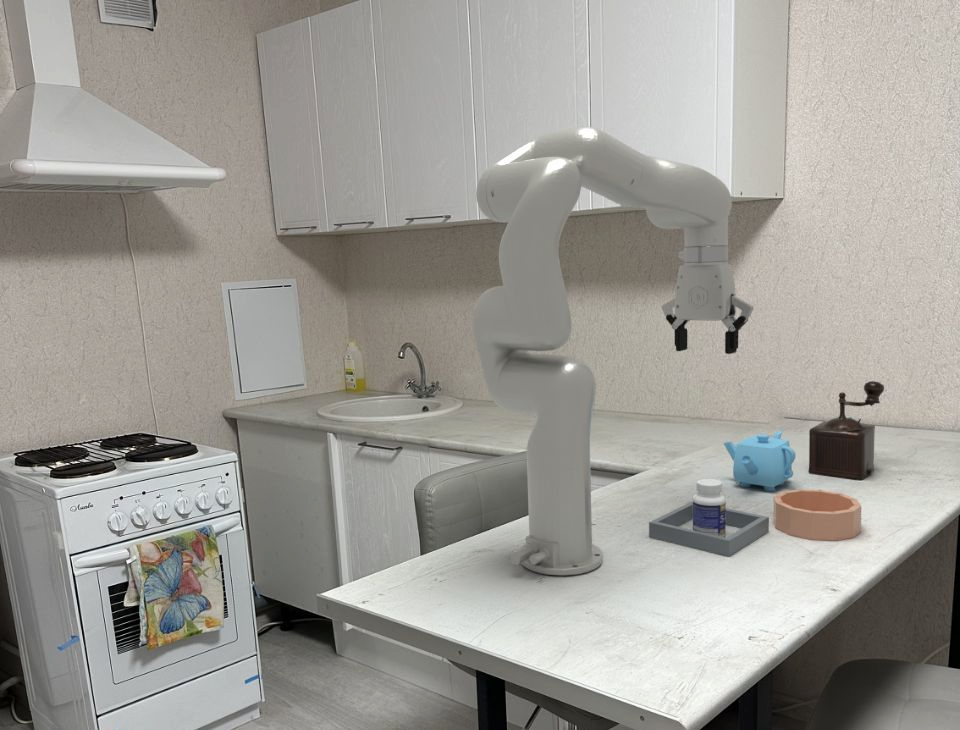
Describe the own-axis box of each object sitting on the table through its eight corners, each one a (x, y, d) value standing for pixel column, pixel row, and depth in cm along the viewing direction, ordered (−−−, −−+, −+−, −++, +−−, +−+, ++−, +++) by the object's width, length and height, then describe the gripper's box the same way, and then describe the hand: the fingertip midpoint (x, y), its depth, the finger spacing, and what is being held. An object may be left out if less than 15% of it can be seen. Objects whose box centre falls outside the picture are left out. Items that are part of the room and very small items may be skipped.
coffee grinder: (865, 481, 156) (867, 391, 153) (807, 473, 163) (808, 387, 160) (884, 464, 168) (887, 380, 165) (829, 457, 175) (831, 377, 172)
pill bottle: (727, 540, 127) (727, 487, 126) (693, 539, 128) (693, 486, 127) (724, 529, 132) (724, 477, 131) (691, 528, 133) (691, 477, 132)
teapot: (777, 501, 146) (777, 448, 144) (705, 489, 155) (705, 438, 153) (811, 479, 159) (812, 429, 158) (743, 468, 168) (743, 422, 167)
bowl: (842, 546, 123) (842, 518, 122) (761, 528, 131) (761, 503, 131) (870, 524, 132) (871, 498, 131) (793, 509, 141) (793, 485, 140)
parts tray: (729, 556, 120) (729, 540, 120) (649, 536, 130) (648, 522, 129) (768, 531, 130) (768, 517, 130) (691, 515, 140) (691, 501, 139)
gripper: (652, 258, 145) (653, 351, 147) (743, 255, 133) (742, 356, 135) (673, 258, 150) (673, 347, 152) (761, 255, 139) (760, 352, 141)
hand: (705, 351), depth 144 cm, fingers open, 9 cm apart
